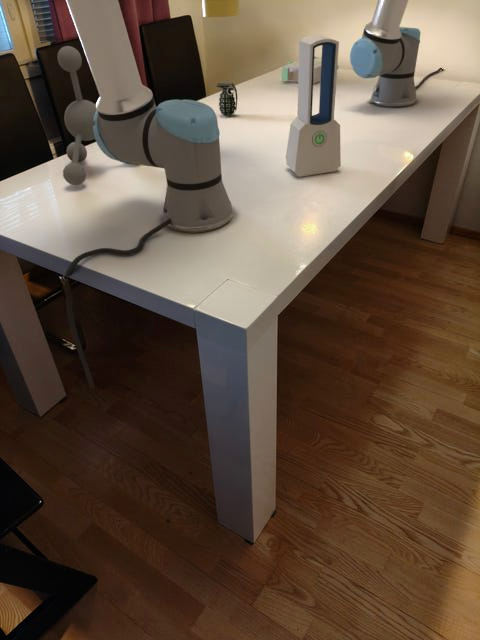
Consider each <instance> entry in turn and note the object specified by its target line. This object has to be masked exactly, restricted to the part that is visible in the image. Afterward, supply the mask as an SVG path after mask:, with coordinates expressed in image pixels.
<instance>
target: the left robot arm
mask: <svg viewBox="0 0 480 640" xmlns="http://www.w3.org/2000/svg"><path fill="white" fill-rule="evenodd" d="M65 1H66V3H67V7H68V9H69V13H70V15H71V18H72V21H73V23H74V27H75V30H76V32H77V34H78V38H79V41H80V43H81V46H82V48H83V52H84V55H85V57H86V60H87V63H88V67H89V69H90V72H91V74H92V78H93V80H94V82H95V86H96V89H97V91H98V94H99V97H98V99H97V101H96V103H95V105H96V109H97V111H96V113H95V115H94V120H93V121H94V122H95V126H93V132H94V137H95V139H94V140H95V142H96V144H97V147H98V148H99V150H100V151H101V152H102V153H103V154H104V155H105V156H106V157H108V158H109V159H111V160H113V161H117V162H120V163H124V164H126V165H139V166H146V167H153V168H158V169H159V168H160V169H164V174H165V180H166V190H165V191H166V192H165V196H164V203H163V207H162V218H163V222H161V223H160V224H158V225H157V226H156V227H154V228H152V229H151V230H149V231H148V232H146V233H145V234H143V235H142V236H141V237H140V239H139V241H138V244H137V246H136V247H134V248H131V249H117V248H110V247H101V248H96V249H92V250H88V251H85V252H83V253H81V254H79V255H77V256H76V257H75V258H74V259H73V260H72V261H71V262H70V264H69V266H68V267H67V269H66V271H65V273H64V277H66V278H67V277H70V276H71V275H72V274H73V272H74V269H75V268H76V266H77V265H78V264H79V263H80V262H81V261H82V260H84V259H87V258H89V257H92V256H97V255H101V254H113V255H118V256H131V255H134V254H137V253H139V252H140V251H141V250H142V249H143V247H144V245H145V242H146V241H147V240H148V239H149V238H150V237H152V236H153V235H155V234H156V233H158V232H160V231H161V230H163V229H164V228H166V227H168V228H169V229H171V230H173V231H177V232H180V233H190V234H191V233H192V234H193V233H194V234H195V233H196V234H197V233H205V232H206V233H207V232H210V231H215V230H216V229H220V228H222V227H224V226H226V225H227V224H228V223H230V221H231V220H232V218H233V216H234V212H233V211H234V210H233V205H232V201H231V200H230V197H229V195H228V192H227V190H226V187H225V184H224V182H223V175H222V174H223V173H222V161H221V159H222V158H221V145H220V133H221V132H220V129H219V123H218V116H217V113H216V112H215V110H214V109H213V108H212V106H210V105H208V104H206V103H204V102H202V101H198V100H193V99H169V100H165V101H162V102H160V103H159V104H158V105H156V101H155V98H154V94H153V92H152V89H150V88H149V87H147V86H146V85H144V84H143V83H142V80H141V76H140V73H139V69H138V65H137V62H136V58H135V55H134V51H133V48H132V44H131V41H130V38H129V34H128V31H127V26H126V24H125V20H124V17H123V12H122V10H121V6H120V2H119V0H65ZM65 305H66V312H67V318H68V322H69V327H70V331H71V335H72V338H73V341H74V344H75V348H76V351H77V353H78V356H79V358H80V361H81V364H82V366H83V370H84V372H85V375H86V379H87V381H88V385H89V388H90V389H92V390H93V389H95V386H96V385H95V382H94V379H93V376H92V372H91V371H90V367H89V364H88V362H87V359H86V356H85V353H84V350H83V348H82V344H81V341H80V339H79V338H80V337H79V334H78V330H77V326H76V321H75V318H74V311H73V304H72V299H71V298H69V297H65Z"/></svg>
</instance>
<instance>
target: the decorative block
mask: <svg viewBox="0 0 480 640" xmlns="http://www.w3.org/2000/svg"><path fill="white" fill-rule="evenodd" d="M321 61H322V56H315V55H314V76H313V85H316V84H317V83H320V82H321ZM337 70H339V64H337ZM298 76H299V60H296V61H287V62H286V65H283V67H281V81H282V82H283V81H284V82H292V83H298Z"/></svg>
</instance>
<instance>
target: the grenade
mask: <svg viewBox="0 0 480 640" xmlns="http://www.w3.org/2000/svg"><path fill="white" fill-rule="evenodd" d="M215 87H217V88H219V89H221V93H219V97H218V101H219V102H218V106H219V108H218V109H219V112H220V114H221V115H222V116H224V117H231V116H233V115H234V113H235V112H236V111H237V108H238V89H237V87H236V85H235V84H234V83H233V82H218V83H217V84H216V86H215ZM232 91H233V92H232ZM234 94H235V96H234Z"/></svg>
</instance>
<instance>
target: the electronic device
mask: <svg viewBox="0 0 480 640" xmlns="http://www.w3.org/2000/svg"><path fill="white" fill-rule="evenodd" d="M320 46H321V57H322V61H321V81H319V83H320V84H319V85H320V86H319V104H318V113H316V114H313V99H314V97H313V96H314V84H313V76H314V56H315V50H316V48H318V47H320ZM339 48H340V41H338V40H336V39H333V38H330V37H327V36H324V35H321V34H311V35H307V36H305V37H303V38H301V39H299V41H298V61H299V76H298V82H297V83H298V84H297V88H298V89H297V117H295V118H294V119H293V120H292V122H290V125H289V131H288V132H289V133H288V139H287V146H286V152H285V160H286V161H285V163H286V166H287V167H288V168H289V169H290V170H291V171H292V172H293V173H294V174H295V175H296V176H297V177H298V178H301V177H307V176H313V175H314V176H315V175H319V174H326V173H333V172H337V170H339V169H340V167H341V165H342V164H341V163H342V161H341V159H342V158H341V155H342V154H341V124H340V123H339V122H338V121H337V120H336V119H335V109H336V108H335V106H336V95H337V93H336V91H337V90H336V89H337V78H338V69H337V65H339V64H338V63H339V62H338V61H339Z"/></svg>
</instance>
